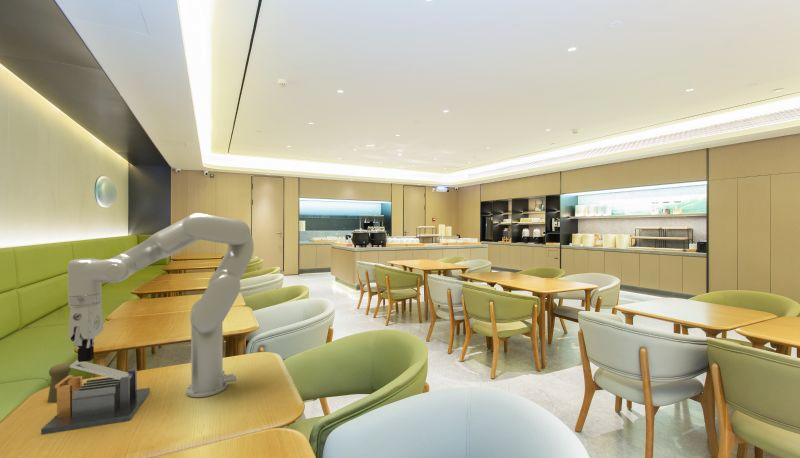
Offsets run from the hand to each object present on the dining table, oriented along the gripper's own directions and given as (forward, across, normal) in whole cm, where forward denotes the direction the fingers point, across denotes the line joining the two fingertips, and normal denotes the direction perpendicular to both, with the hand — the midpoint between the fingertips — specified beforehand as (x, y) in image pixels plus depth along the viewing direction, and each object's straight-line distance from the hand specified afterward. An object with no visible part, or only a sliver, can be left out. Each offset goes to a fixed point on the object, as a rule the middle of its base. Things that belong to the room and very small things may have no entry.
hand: (85, 360), depth 106 cm
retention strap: (+4, 0, -4) cm, 6 cm away
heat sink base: (+16, 0, -4) cm, 17 cm away
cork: (+16, +14, +12) cm, 25 cm away
